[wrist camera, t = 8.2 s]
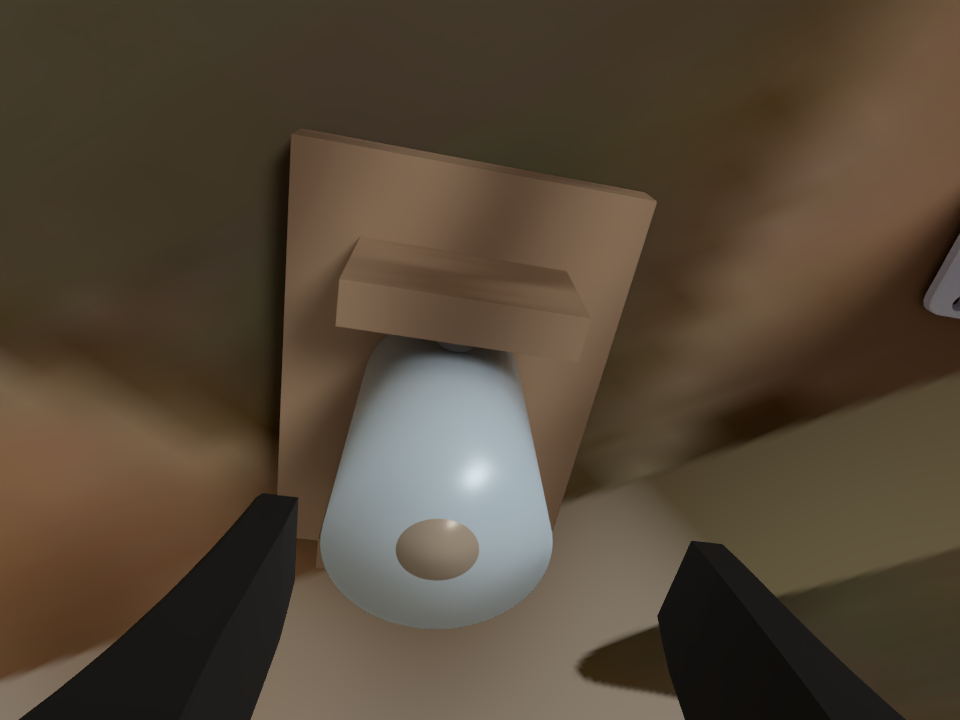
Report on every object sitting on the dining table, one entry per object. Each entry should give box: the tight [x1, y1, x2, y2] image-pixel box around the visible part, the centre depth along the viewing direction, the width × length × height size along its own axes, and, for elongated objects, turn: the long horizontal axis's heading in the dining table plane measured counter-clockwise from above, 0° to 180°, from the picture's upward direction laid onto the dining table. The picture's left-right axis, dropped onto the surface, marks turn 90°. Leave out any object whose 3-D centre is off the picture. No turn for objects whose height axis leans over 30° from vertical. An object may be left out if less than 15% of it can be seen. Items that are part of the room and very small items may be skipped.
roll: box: [320, 334, 553, 629], centre depth 16 cm, size 5×5×7 cm
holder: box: [277, 128, 657, 569], centre depth 18 cm, size 10×14×5 cm
